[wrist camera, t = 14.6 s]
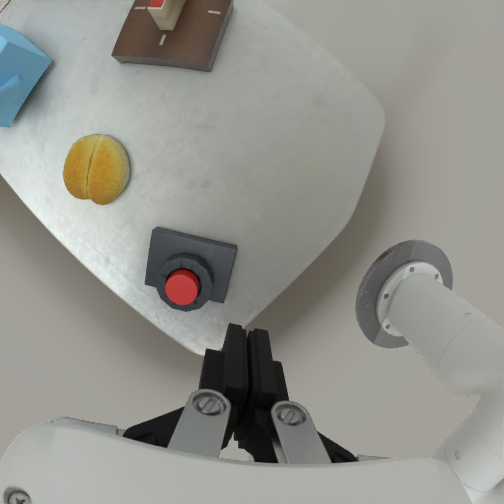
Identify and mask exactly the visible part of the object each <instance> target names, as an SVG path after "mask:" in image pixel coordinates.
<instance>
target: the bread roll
mask: <svg viewBox="0 0 504 504" xmlns="http://www.w3.org/2000/svg"><path fill="white" fill-rule="evenodd" d="M129 174H130V166H129V160H128V156H127V154H126V152H125V150H124V148H123V146H122V145H121V144H120V143H119V142H117V141H116V140H115V139H114V138H112V137H110V136H107V135H97V134H96V135H89V136H85V137H82V138H80V139H79V140H78V141H77V142H75V143H74V144H73V146H72V148H71V149H70V151H69V153H68V155H67V158H66V160H65V165H64V170H63V179H64V183H65V186H66V188H67V190H68V191H69V193H70V194H71V195H73V196H74V197H76V198H78V199H92V201H93V202H95V203H96V204H100V205H105V204H108V203H110V202H112V201H113V200H114V199H115V198H117V197H118V196H119V195H120V193H121V192H122V191H123V189H124V188H125V186H126V184H127V182H128V179H129Z"/></svg>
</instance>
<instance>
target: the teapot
mask: <svg viewBox="0 0 504 504" xmlns="http://www.w3.org/2000/svg"><path fill="white" fill-rule="evenodd" d="M51 62H52V60H51V59H50V58H48V57H47V56H46V55H45V54H44V53H43V52H42V51H41V50H39V49H38V48H37V47H36V46H35V45H34V44H33V43H31V42H30V41H29V40H28V39H27V38H26V37H25V36H23V35H22V34H21V33H20V32H19V31H17V30H15V29H12V28H10V27H8V26H6V25H4V24H1V23H0V127H10V125H11V123H12V122H13V120H14V118H15V116H16V114H17V113H18V111H19V109H20V108H21V106H22V104H23V103H24V101H25V99H26V98H27V96H28V95H29V93H30V92H31V90H32V89H33V87H34V86H35V84H36V83H37V81H38V80H39V78H40V77H41V75H42V74H43V73H44V71H45V70H46V68H47V67H48V66H49V64H50V63H51Z"/></svg>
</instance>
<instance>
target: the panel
mask: <svg viewBox="0 0 504 504" xmlns="http://www.w3.org/2000/svg"><path fill="white" fill-rule="evenodd" d="M150 2H151V0H135V2H134V4H133V6H132V8H131V10H130V12H129V14H128V16H127V18H126V21H125V23H124V25H123V27H122V30H121V32H120V34H119V37H118V39H117V42H116V44H115V47H114V49H113V52H112V55H111V56H112V57H114V58H115V59H116V60H117V61H119V62H120V63H137V64H151V65H163V66H172V67H181V68H188V69H195V70H202V71H208V72H211V70H212V67H213V64H214V61H215V58H216V55H217V52H218V49H219V46H220V43H221V40H222V37H223V35H224V32H225V29H226V26H227V24H228V21H229V18H230V16H231V13H232V11H233V0H186V2H185V4H184V6H183V8H182V11H181V13H180V15H179V18H178V20H177V22H176V25H175V27H174V29H173V31H172V30H160V28H159V27H158V25H157V24H156V22H155V20H154V19H153V17H152V16H151V14H150V12H149V11H148V9H147V8H148V6H149V4H150Z"/></svg>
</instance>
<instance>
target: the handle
mask: <svg viewBox="0 0 504 504" xmlns="http://www.w3.org/2000/svg"><path fill="white" fill-rule="evenodd" d="M185 2H186V0H151V2H150V4H149V6H148V8H147V9H148V11H149V12H150V14H151V16H152V17H153V19H154V20H155V22H156V24H157V25H158V27H159V28H160V30H172V31H173V29H174V27H175V25H176V22H177V20H178V18H179V15H180V13H181V11H182V8H183V6H184V4H185Z"/></svg>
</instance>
